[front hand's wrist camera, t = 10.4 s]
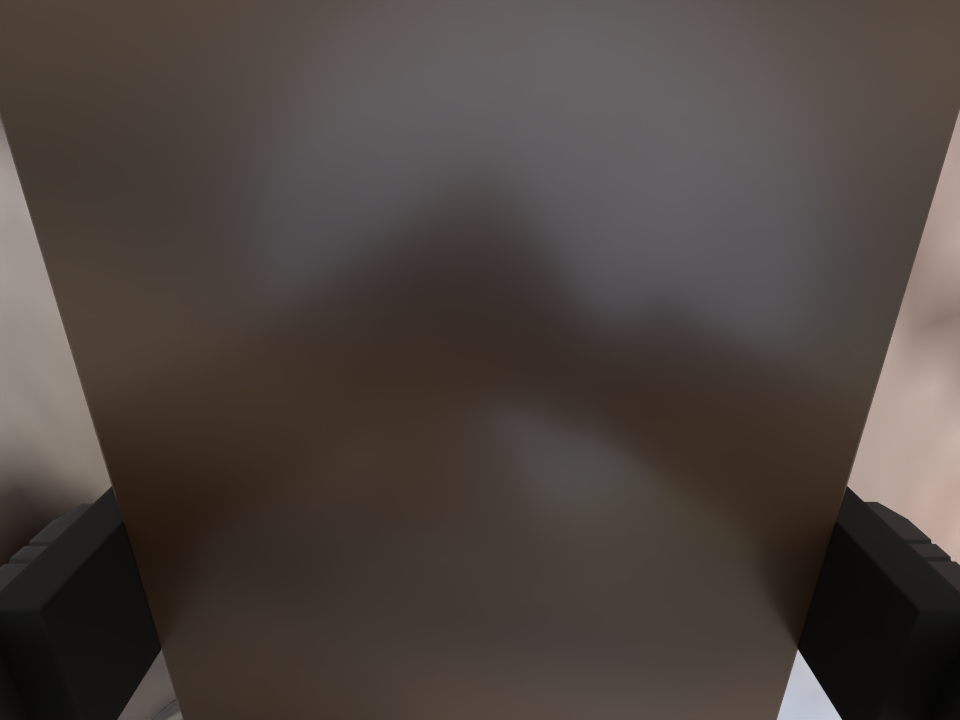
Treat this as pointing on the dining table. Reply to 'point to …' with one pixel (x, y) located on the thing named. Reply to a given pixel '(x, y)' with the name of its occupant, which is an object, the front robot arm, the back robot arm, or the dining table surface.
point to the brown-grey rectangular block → (479, 329)
